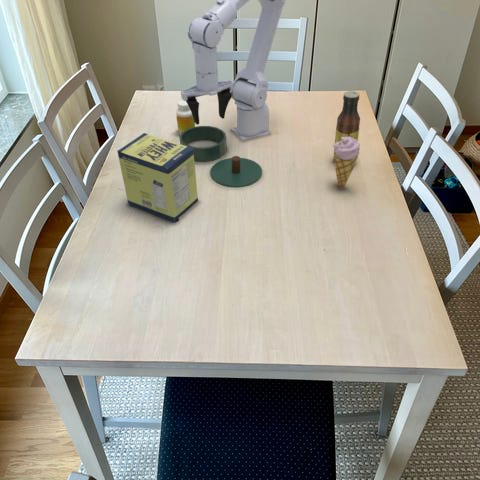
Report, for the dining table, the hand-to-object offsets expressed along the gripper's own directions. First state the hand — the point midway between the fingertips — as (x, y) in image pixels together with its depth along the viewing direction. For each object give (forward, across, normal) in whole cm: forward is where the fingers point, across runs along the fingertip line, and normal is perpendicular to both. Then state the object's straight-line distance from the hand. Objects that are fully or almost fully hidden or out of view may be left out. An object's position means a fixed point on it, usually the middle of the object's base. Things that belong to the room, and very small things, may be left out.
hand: (209, 119), depth 139 cm
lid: (+10, +2, -14) cm, 17 cm away
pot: (+10, -2, +2) cm, 11 cm away
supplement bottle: (+11, -2, +15) cm, 18 cm away
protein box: (+11, -21, -17) cm, 29 cm away
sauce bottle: (+11, +32, -22) cm, 40 cm away
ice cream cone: (+11, +24, -32) cm, 41 cm away
